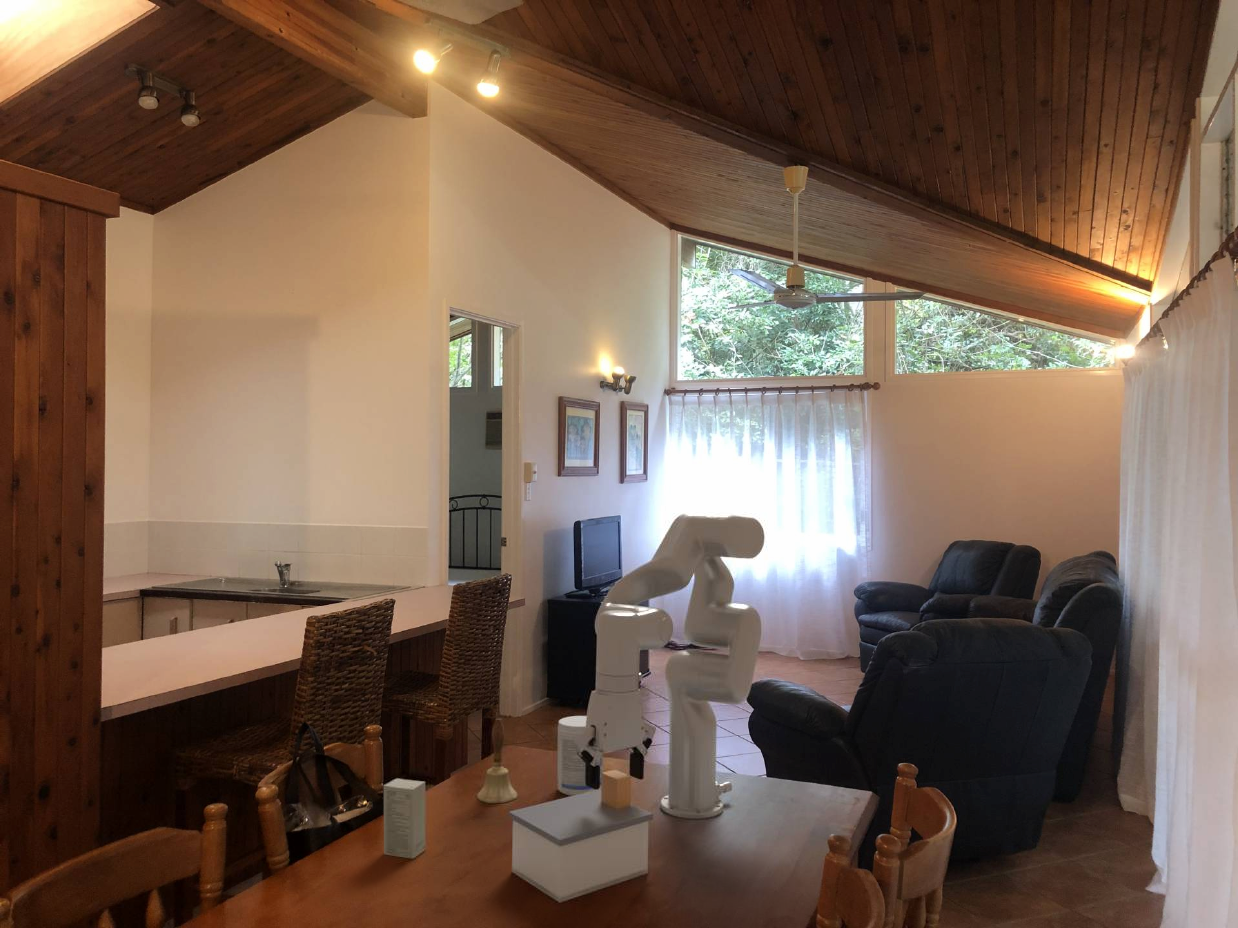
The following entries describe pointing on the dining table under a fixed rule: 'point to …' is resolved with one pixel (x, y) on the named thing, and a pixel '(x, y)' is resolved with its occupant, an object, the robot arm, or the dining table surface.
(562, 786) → the supplement tub
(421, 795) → the skincare box
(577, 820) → the grey board with block
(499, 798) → the hand bell
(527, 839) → the parts tub
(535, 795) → the dining table surface
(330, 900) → the dining table surface
